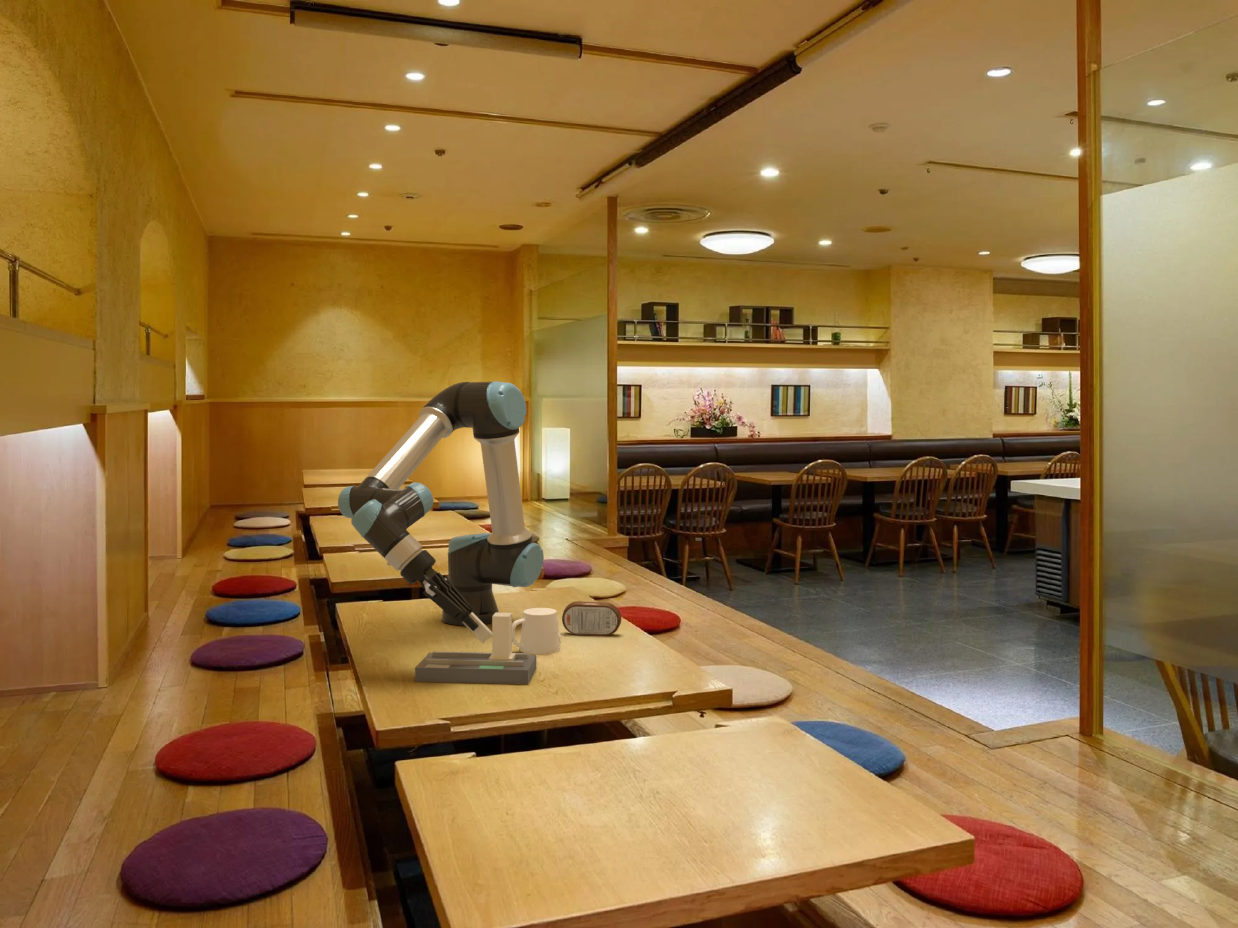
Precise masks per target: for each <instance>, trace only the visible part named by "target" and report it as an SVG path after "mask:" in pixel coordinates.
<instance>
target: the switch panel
mask: <svg viewBox="0 0 1238 928" xmlns="http://www.w3.org/2000/svg"><path fill="white" fill-rule="evenodd" d="M515 653H516V658H515V659H514V661H504V660H489V657H490V656H491V655H492V652H482V651H481V652H477V651H474V652H473V651H438V650H437V651H435V650H434V651H432V652H429V653H427V655H425V657H423V659H422V660H421V661H420V662H418V664H417V665H416V666H415V667H414V683H416V682H417V683H419V682H420V683H455V684H456V683H457V684H492V685H494V684H499V685H505V684H506V685H510V684H511V685H529V684H530V682H531V679H532V677H533V676H534V674H535V672H536V670H537V654H528V653H522V652H518V653H517V652H515ZM529 681H530V682H529ZM528 683H529V684H528Z"/></svg>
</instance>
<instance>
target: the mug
mask: <svg viewBox="0 0 1238 928" xmlns="http://www.w3.org/2000/svg"><path fill="white" fill-rule="evenodd" d="M520 624H521V630H520V639H519V643H518V641H517V639H516V632H515V631H516V627H517V626H518V625H520ZM559 632H560V629H559V620H558V611H557V610H556V609H554V608H549V607H533V608H527V609H525V610H523V613H522V618H519V619H516V620H514V621H512V644H514V645H515V646H516V647H518V649H519V652H520V653H522V652H523V653H528V655H545V653H547V654H551V653H550V652H553V653H556V652H558V651H560V646H561V645H560V644H561V638H562V636H561V633H559ZM557 650H558V651H557ZM555 651H556V652H555Z"/></svg>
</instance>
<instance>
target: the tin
mask: <svg viewBox="0 0 1238 928" xmlns="http://www.w3.org/2000/svg"><path fill="white" fill-rule="evenodd" d="M561 620H562V621H561V623H562V625H563V627H564V629H565V630H566V631H567V632H568V633H570V634H571V635H575V636H587V635H588V636H592V637H593V636H595V637H610V636H612V635H614V634H615V632H617V631H618V630H619V627H620V626H621V624H622V614H621V612H620V609H619V608H618V607H617V606H615V605H614V604H613V603H611V602H604V601H603V602H602V601H583V600H582V601H581V600H579V601H578V600H577V601H573V602H571V603H569V604H567V605H566V606H565V608H564V610H563V613H562V615H561Z"/></svg>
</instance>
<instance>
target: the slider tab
mask: <svg viewBox="0 0 1238 928" xmlns="http://www.w3.org/2000/svg"><path fill="white" fill-rule="evenodd" d="M512 623H513V612H499V613H495V614H494V615H493V616H492V623H491V624H492V628H491V629H492V636H491V639H492V642H491V643H492V645H491V647H492V649H491V651H492V652H491V653H492V655H491V656H490V657H489V660H504V661H514V659H515V658H516V653H517V652H513V642H512Z"/></svg>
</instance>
